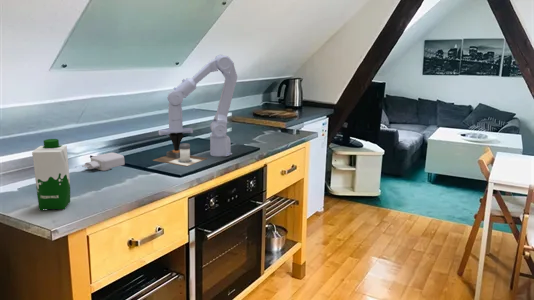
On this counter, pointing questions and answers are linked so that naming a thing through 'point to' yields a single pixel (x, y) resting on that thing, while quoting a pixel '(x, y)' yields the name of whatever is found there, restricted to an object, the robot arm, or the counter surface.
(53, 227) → the counter surface
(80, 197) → the counter surface
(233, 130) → the counter surface
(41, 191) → the milk carton
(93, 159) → the charger
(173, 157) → the board
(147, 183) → the counter surface
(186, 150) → the salt shaker
